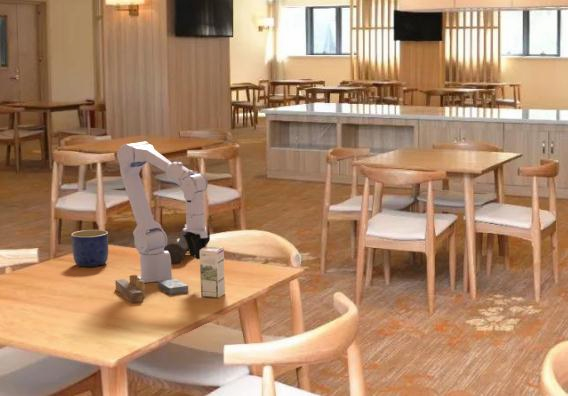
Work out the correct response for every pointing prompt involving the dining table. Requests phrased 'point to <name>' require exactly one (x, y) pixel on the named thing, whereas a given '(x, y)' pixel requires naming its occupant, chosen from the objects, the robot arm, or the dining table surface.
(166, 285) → the steel plate
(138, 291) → the bench dog strip
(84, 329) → the dining table surface
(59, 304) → the dining table surface
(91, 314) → the dining table surface
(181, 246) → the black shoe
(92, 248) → the planter
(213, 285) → the syrup box
